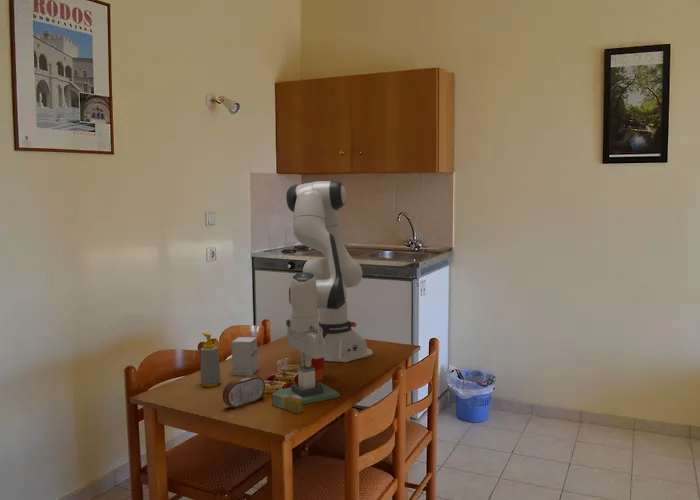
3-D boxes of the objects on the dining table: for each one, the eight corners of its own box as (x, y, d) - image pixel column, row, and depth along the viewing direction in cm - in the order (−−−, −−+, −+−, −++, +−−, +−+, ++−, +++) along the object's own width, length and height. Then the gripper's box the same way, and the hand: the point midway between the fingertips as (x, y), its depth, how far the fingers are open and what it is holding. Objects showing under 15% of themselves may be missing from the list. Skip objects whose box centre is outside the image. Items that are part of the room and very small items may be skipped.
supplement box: (251, 376, 230) (250, 341, 229) (232, 375, 232) (230, 341, 230) (258, 370, 237) (257, 336, 236) (239, 369, 239) (238, 336, 238)
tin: (261, 396, 208) (260, 371, 208) (267, 398, 206) (266, 373, 205) (222, 409, 198) (221, 382, 197) (228, 411, 196) (227, 384, 195)
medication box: (271, 405, 200) (270, 393, 200) (278, 403, 202) (277, 390, 202) (297, 414, 192) (296, 401, 192) (303, 412, 194) (303, 399, 194)
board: (319, 385, 218) (319, 376, 218) (339, 396, 206) (338, 387, 206) (276, 393, 210) (275, 384, 210) (293, 406, 198) (293, 396, 198)
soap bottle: (212, 380, 227) (210, 330, 225) (225, 383, 222) (222, 333, 220) (196, 385, 222) (193, 334, 220) (208, 389, 217) (206, 337, 215)
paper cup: (310, 374, 230) (309, 336, 229) (329, 376, 227) (328, 338, 226) (300, 381, 223) (299, 341, 222) (320, 383, 220) (319, 343, 219)
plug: (309, 388, 211) (308, 365, 210) (315, 392, 208) (315, 368, 207) (298, 391, 209) (297, 367, 208) (304, 394, 205) (303, 370, 205)
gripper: (329, 328, 198) (330, 372, 200) (300, 317, 216) (302, 356, 218) (310, 331, 195) (312, 375, 197) (283, 319, 213) (285, 360, 215)
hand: (306, 365), depth 207 cm, fingers closed
